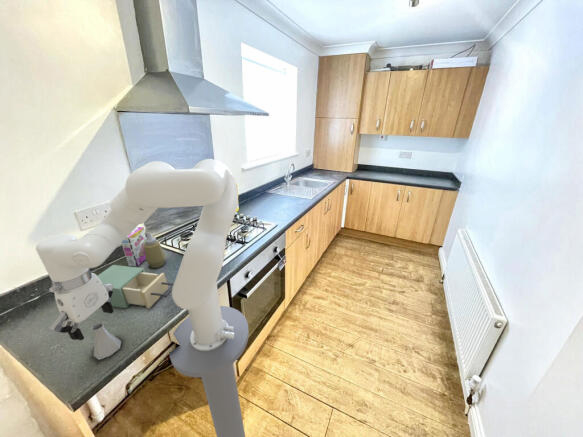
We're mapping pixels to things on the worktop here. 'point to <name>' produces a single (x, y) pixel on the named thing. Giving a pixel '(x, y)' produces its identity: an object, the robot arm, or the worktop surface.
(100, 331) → the flask
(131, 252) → the candy bar box
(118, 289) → the cabinet
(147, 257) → the squeeze bottle
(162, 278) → the drawer
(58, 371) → the worktop surface
